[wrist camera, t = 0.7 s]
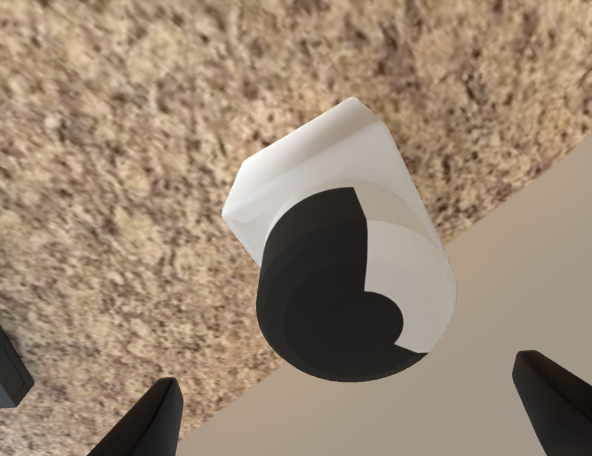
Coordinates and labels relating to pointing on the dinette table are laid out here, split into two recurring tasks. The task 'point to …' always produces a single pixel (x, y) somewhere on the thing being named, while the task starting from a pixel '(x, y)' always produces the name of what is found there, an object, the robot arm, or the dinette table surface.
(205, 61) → the dinette table surface
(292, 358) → the medicine bottle
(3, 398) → the tray
